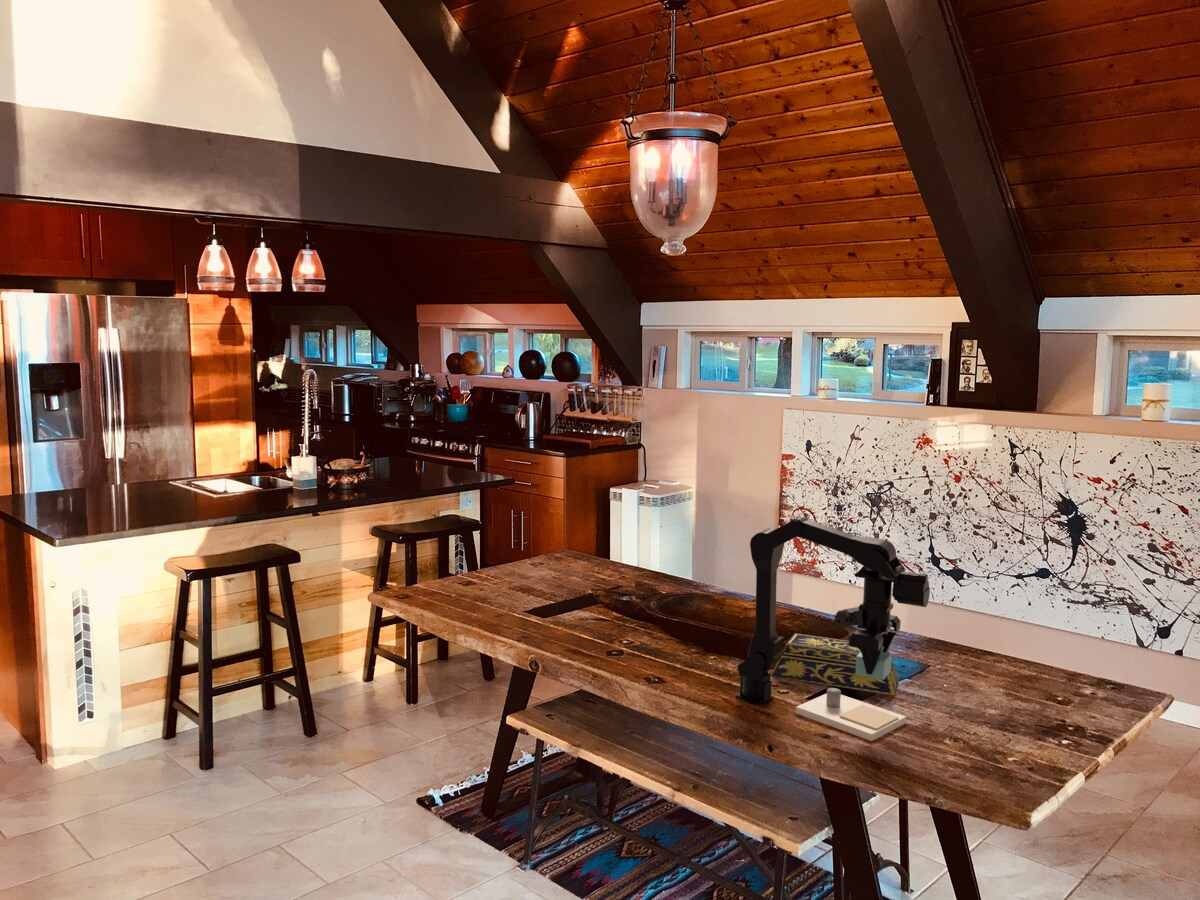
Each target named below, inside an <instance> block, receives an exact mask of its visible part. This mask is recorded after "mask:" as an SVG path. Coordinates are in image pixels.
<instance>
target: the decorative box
mask: <svg viewBox="0 0 1200 900" xmlns="http://www.w3.org/2000/svg"><path fill="white" fill-rule="evenodd" d="M783 650H784V654H783V655H781V658H780V660H779V661H778V662H777V663H776V664H775V665H774V669H773V670H772V671H771V672H772V673H770V674H771V677H773V678H774V677H775V678H782V679H787V680H788V679H789V680H794V681H801V682H808V683H812V684H813V683H814V684H820V685H827V686H832V687H839V688H846V689H851V690H859V691H863V692H869V693H870V692H871V693H876V694H877V693H878V694H884V695H891V696H897V693H898V689H899V683H900V678H899V676H898V673H897V670H896V668H895V665H894V662H893V661H892V663H891V672H890V673H889V674H888V675H887V676H886V678H885V679H884V680H882V679H877V678H872V677H867V676H862V675H858V674H855V673H856V656H857V655H858V654H859V653H860V652H861V651H860V650H859V649H858V648H856V647H851V646H849V639H848V640H847V639H839V638H831V637H827V636H817V635H810V634H805V633H804V634H803V633H796V632H795V633H793V634H792V635H791V636H790V638H789V639H788V641H787V642H786V644H785V646H784V647H783ZM887 653H890V651H889V649H888V651H887Z"/></svg>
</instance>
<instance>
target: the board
mask: <svg viewBox="0 0 1200 900" xmlns="http://www.w3.org/2000/svg"><path fill="white" fill-rule="evenodd" d="M795 714H797V715H800V716H802V717H804V718H805V717H806V718H808V719H811V720H814V721H817V723H818V722H819V723H821V724H824V725H827V726H830V727H833V728H835V729H838V730H840V731H843V732H845V733H849V734H851V735H854V736H857V737H859V738H862V739H864V740H867V741H870V742H872V741H873V742H874V740H877V739H878V738H881V737H883V736H885V735H886V734H888V733H890V732H892V731H894V730H895V729H897V728H899V727H901V726H903V725H905V724H907V716H906V715H904V714H900V713H897V712H894V711H890V710H888V709H885V708H883V707H879V706H876V705H873V704H871V703H867V702H865V701H863V700H862V701H861V700H859V699H856V698H852V697H849V696H846V695H844V694H842V691H841V689H839V688H837V687H836V688H835V687H829V688H826V693H824V694H821V695H820V696H817V697H815V698H813V699H810V700H809V701H806V702H804V703H802V704H799V705H797V706H796V707H795Z"/></svg>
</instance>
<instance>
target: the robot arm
mask: <svg viewBox="0 0 1200 900" xmlns="http://www.w3.org/2000/svg"><path fill="white" fill-rule="evenodd" d="M795 538H799V539H803V540H806V541H808V542H812V543H814V544H816V545H820V546H823V547H825V548H827V549H831V550H834V551H836V552H839V553H841V554H845V555H847V556H849V557H851V558H852V559H853V560H854V561H855V562H857V563H858V564H859V565H862V566H861V568H860V569H859V570H858V571H857V572H856V573H854V577H856V578H860V579H863V580H864V581H863V599H862V600H863V601H862V602H861V603H860V604H859V606H855V607H850V608H844V609H840V610H838V611H836V613H835V614H834V620H833V623H834V624H836V625H837V627H838V629H839V630H841V629H842V630H843V629H845V628H848V627H853V626H856V628H857V630H855V631H854V632H853V633H852V634H850V635H849V636H848V641H849V646H851V647H856V648H858V649H859V650H860V651H861V653H862V657H863V661H864V665H865V669H866V673H867V674H870V675H871V674H872V673H873V671H874V669H875V666H876V664H877V662H878V660H879V657H880V655H881V653H882V652H887V651H888V650H889V649H890V647H891V645H892V644H893V641H894V640H895V637H896V636H897V633H896V632H898V631H899V630H901V619H900V618H899V617H898V616H897V615H895V614H893V615H892V614H891V611H892V609H893V608H894V603H892V597H893V600H894V601H897V603H898V604H902V605H909V606H915V607H922V608H927V606H928V604H929V600H930V595H931V594H930V593H931V587H930V582H929V580H928V578H929V577H928V576H929V575H928V574H927V573H916V572H909V571H908V572H907V571H906V569H905V567H904V566H903V563H902V562H901V561H900V559H899V557H898V556H897V551H896V548H895V546H894V543H892V542H891V541H890V540H888V539H884V538H878V537H877V538H876V537H871V536H870V537H869V536H857V535H853V534H850V533H848V532H845V531H841V530H839V529H837V528H834V527H831V526H827V525H826V524H825V525H824V524H822V523H818V522H816V521H813V520H811V519H807V518H806V517H804V516H797V517H795V518H793V519H790V520H789V521H788V522H787V523H785V524H783V525H782V526H779V527H777V528H773V527H772V528H770V527H769V528H766V529H764V530H762V531H760V532H757V533H756V534H754V535H753V536H752V537H751V538H750V541H749V548H750V555H751V559H752V563H753V564H754V565H753V566H754V567H755V569H756V573H755V575H756V576H755V579H756V580H755V616H754V617H755V625H754V626H755V627H754V632H753V635H752V638H751V641H750V643H749V647H748V652H747V659H745V660H743V662H741V663H740V664H739V665H737V667H736V668H737V671H738V674H739V676H740V682H739V683H740V684H739V687H740V688H739V692H738V693H736V694H735V698H738V699H740V700H743V701H745V702H748V703H752V704H754V705H760V704H763V703H765V702H767V701H770V700H772V699H774V698H775V696H774V695H773V694H772V680H771V678H772V676H771V674H772V673H769V672H768V671H770V670H771V669H773V667H774V666H775V665H776V664H777V662H778V661H779V660H780V658H781V655H783V654H784V643H785V637H784V636H779V635H778V633H777V630H776V621H777V620H776V618H777V617H776V616H777V615H776V613H777V610H776V609H777V577H778V576H777V574H778V573H777V572H778V566H779V564H780V561H781V559H782V557H783V556H782V555H783V552H784V548H785V547H784V546H785V543H788V542H789V541H791V540H793V539H795ZM892 628H893V631H891V629H892ZM864 629H865V630H864Z"/></svg>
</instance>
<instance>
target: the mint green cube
mask: <svg viewBox="0 0 1200 900" xmlns="http://www.w3.org/2000/svg"><path fill="white" fill-rule="evenodd" d="M892 662H893V653H892V652H889V653H887V652H882V653H881V655H880V657H879V660H878V662H877V664H876V666H875V669H874V671H873V673H872V674H871V675H870V674H867V673H866V669H865V665H864V661H863V657H862V653H861V652H860V653H859V654H858V655H857V656H856V673H855V674H858V675H862V676H867V677H872V678H877V679H882V680H884V679H885V678H886V676H887V675H888V674H889V673H890V672H891V663H892Z"/></svg>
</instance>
